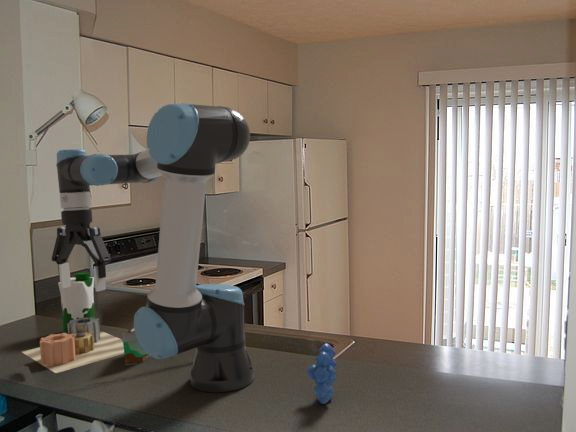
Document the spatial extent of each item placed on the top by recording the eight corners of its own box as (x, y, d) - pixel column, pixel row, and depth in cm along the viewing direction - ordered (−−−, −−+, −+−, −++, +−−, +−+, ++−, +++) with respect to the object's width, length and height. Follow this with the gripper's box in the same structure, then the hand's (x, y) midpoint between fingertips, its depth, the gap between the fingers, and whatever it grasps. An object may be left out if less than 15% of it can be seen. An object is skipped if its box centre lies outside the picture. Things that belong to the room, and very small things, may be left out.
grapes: (313, 386, 127) (311, 336, 126) (342, 389, 125) (340, 337, 124) (300, 408, 116) (298, 353, 115) (332, 411, 114) (330, 355, 113)
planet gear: (75, 352, 152) (74, 331, 151) (75, 362, 144) (74, 340, 143) (42, 357, 149) (40, 335, 148) (40, 367, 141) (38, 345, 140)
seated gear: (105, 339, 162) (104, 319, 162) (79, 347, 156) (78, 326, 155) (89, 334, 168) (88, 315, 167) (63, 342, 161) (62, 322, 160)
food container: (148, 372, 140) (145, 333, 139) (124, 372, 140) (121, 334, 139) (160, 355, 152) (158, 319, 151) (138, 355, 152) (136, 320, 151)
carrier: (142, 353, 154) (141, 332, 153) (56, 379, 137) (54, 355, 136) (102, 336, 171) (101, 316, 170) (21, 357, 154) (19, 335, 154)
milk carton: (86, 341, 166) (82, 276, 164) (58, 341, 167) (53, 276, 165) (100, 332, 175) (96, 270, 173) (73, 332, 176) (69, 270, 174)
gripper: (33, 210, 148) (40, 289, 149) (97, 209, 135) (104, 295, 137) (57, 208, 154) (63, 283, 156) (121, 207, 142) (127, 288, 143)
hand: (83, 289), depth 146 cm, fingers open, 13 cm apart
